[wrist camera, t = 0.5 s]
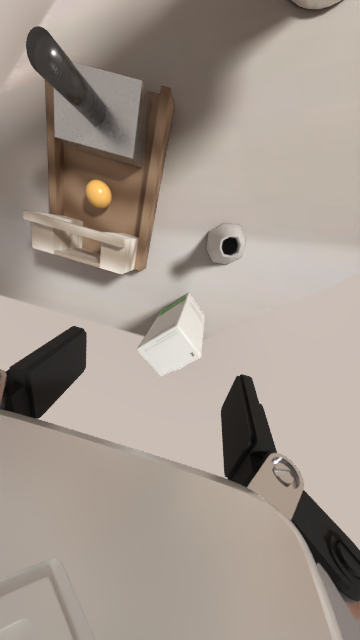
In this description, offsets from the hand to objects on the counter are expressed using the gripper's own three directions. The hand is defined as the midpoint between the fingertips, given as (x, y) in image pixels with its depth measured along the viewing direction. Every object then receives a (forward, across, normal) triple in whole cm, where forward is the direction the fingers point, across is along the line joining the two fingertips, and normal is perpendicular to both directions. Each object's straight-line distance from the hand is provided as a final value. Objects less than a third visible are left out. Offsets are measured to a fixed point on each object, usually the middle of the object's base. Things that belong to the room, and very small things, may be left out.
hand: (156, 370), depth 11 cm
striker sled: (+28, +19, -19) cm, 39 cm away
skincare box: (+30, 0, +9) cm, 31 cm away
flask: (+30, -4, -7) cm, 31 cm away
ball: (+26, +19, -10) cm, 34 cm away
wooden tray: (+30, +19, -12) cm, 37 cm away
